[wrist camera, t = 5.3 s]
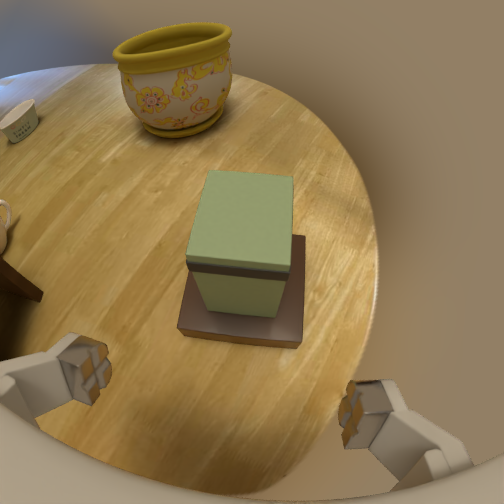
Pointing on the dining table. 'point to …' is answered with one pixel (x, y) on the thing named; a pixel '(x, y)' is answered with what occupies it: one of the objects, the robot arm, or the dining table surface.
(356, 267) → the dining table surface
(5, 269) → the wooden stool
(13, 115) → the food container
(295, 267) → the brown square tile
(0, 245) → the cup
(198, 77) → the flowerpot
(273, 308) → the block
